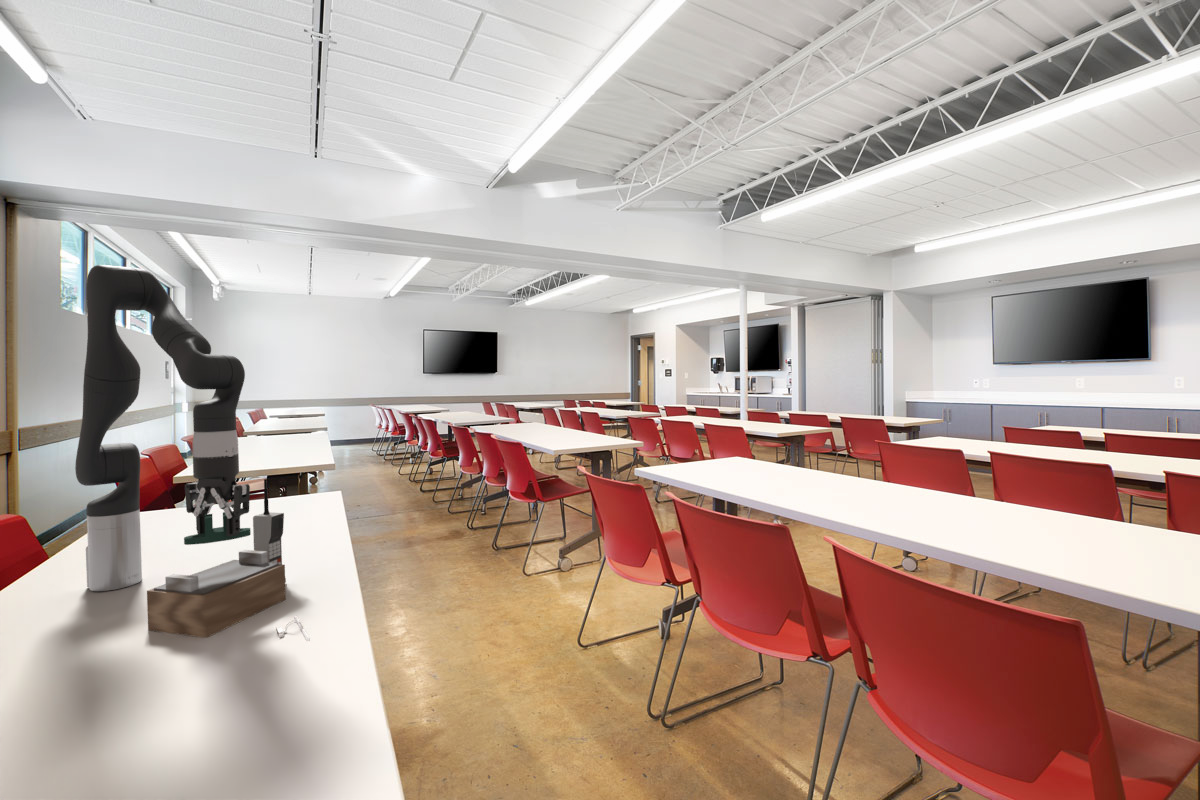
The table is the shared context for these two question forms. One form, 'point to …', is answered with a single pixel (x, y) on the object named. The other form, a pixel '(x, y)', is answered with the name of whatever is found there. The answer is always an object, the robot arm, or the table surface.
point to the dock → (216, 596)
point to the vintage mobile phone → (268, 532)
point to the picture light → (281, 631)
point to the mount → (214, 533)
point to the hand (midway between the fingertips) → (218, 534)
